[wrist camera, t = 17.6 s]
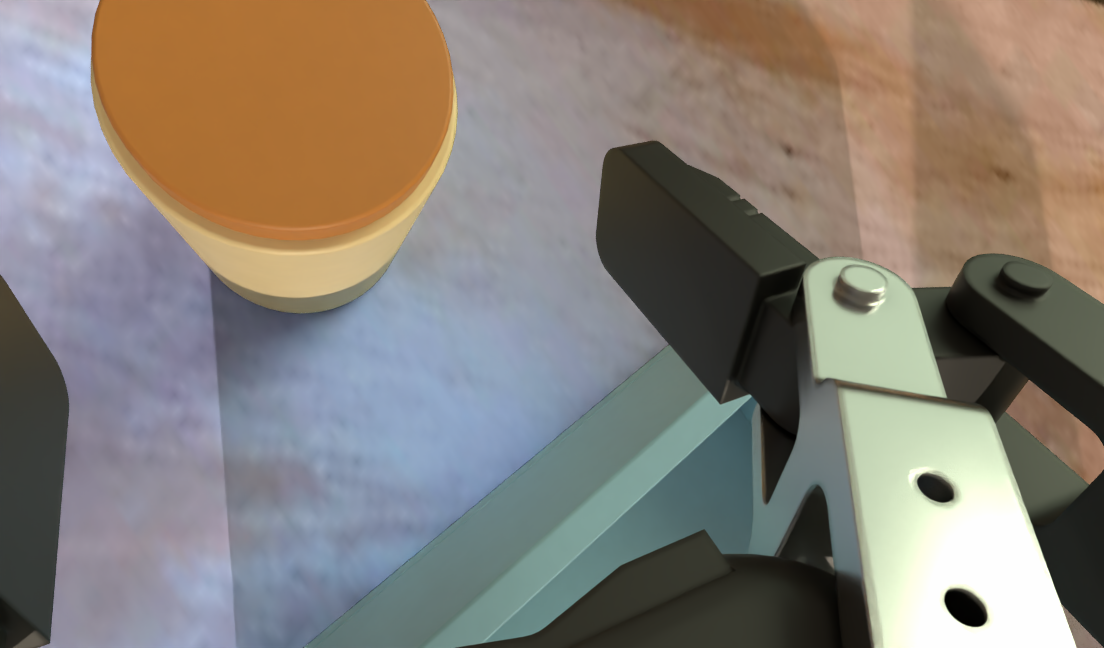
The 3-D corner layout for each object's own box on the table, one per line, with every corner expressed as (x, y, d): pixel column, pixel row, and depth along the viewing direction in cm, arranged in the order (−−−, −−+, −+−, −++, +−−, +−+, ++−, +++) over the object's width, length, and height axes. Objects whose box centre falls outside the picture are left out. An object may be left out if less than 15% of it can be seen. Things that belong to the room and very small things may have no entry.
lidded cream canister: (326, 87, 18) (334, -164, 10) (437, 245, 18) (532, 132, 10) (145, 183, 16) (-26, -23, 8) (274, 353, 17) (233, 319, 9)
